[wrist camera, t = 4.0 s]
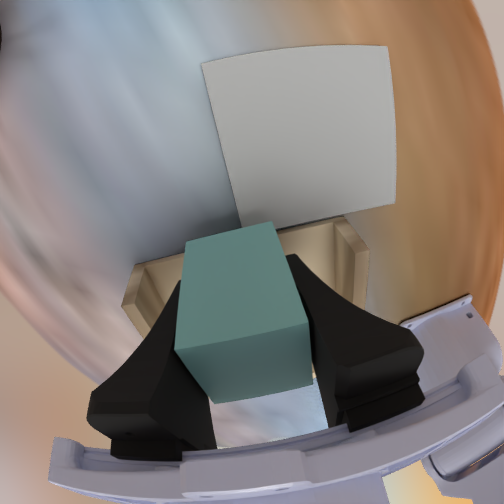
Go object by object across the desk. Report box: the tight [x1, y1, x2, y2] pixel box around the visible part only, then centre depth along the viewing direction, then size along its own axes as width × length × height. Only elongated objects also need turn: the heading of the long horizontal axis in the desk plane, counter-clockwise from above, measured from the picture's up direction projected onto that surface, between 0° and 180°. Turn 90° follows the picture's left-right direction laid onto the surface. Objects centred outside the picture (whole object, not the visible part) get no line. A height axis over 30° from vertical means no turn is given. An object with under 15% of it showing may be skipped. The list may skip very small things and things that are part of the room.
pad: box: [201, 45, 396, 229], centre depth 13 cm, size 9×9×1 cm
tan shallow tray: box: [121, 216, 370, 399], centre depth 18 cm, size 13×11×4 cm
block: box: [174, 221, 313, 404], centre depth 11 cm, size 4×4×6 cm
